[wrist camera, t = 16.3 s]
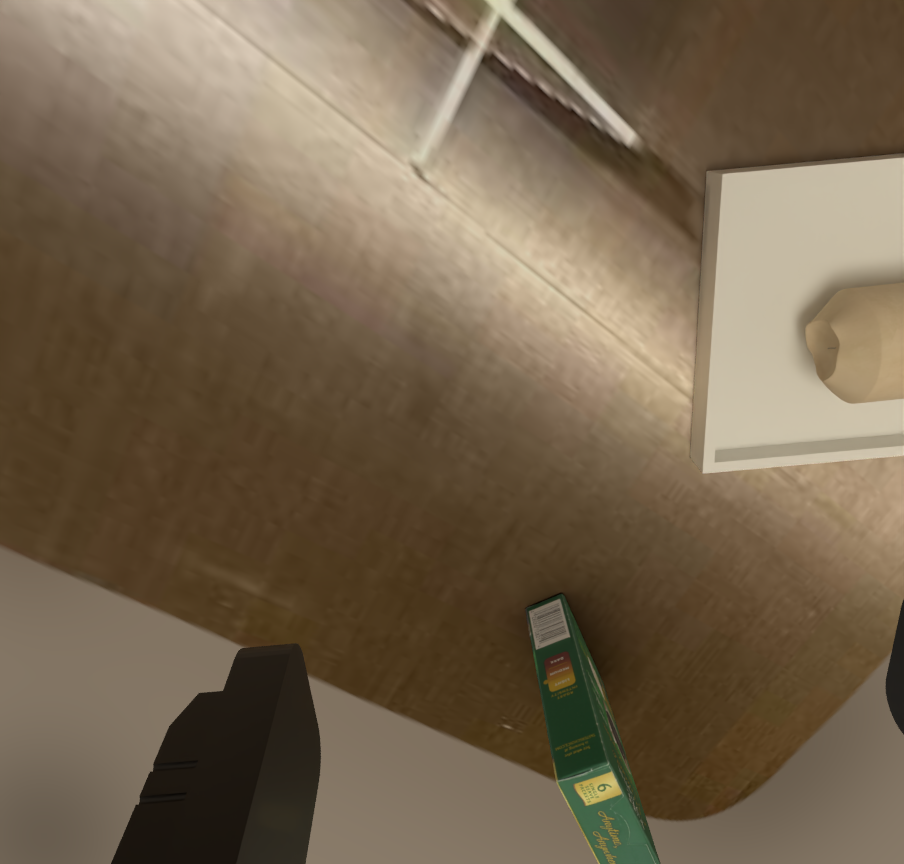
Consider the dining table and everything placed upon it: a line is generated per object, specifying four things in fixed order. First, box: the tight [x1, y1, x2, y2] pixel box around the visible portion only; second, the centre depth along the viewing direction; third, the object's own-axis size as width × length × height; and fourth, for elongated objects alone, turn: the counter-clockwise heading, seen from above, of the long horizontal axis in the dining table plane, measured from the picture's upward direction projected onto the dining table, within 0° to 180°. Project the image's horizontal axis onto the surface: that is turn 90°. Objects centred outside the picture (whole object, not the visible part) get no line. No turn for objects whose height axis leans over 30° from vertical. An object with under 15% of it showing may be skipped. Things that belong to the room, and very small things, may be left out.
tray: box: [690, 153, 904, 474], centre depth 36 cm, size 15×19×2 cm
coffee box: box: [525, 594, 660, 864], centre depth 39 cm, size 8×3×13 cm, turn 23°
